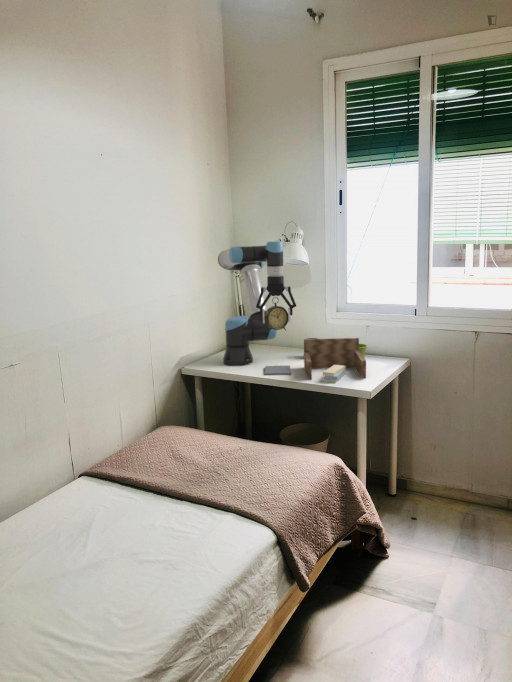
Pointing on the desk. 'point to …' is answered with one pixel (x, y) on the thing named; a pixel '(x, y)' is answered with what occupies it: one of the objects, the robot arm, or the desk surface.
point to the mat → (277, 370)
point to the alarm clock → (276, 317)
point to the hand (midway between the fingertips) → (276, 322)
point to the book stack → (334, 373)
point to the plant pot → (362, 349)
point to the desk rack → (333, 354)
